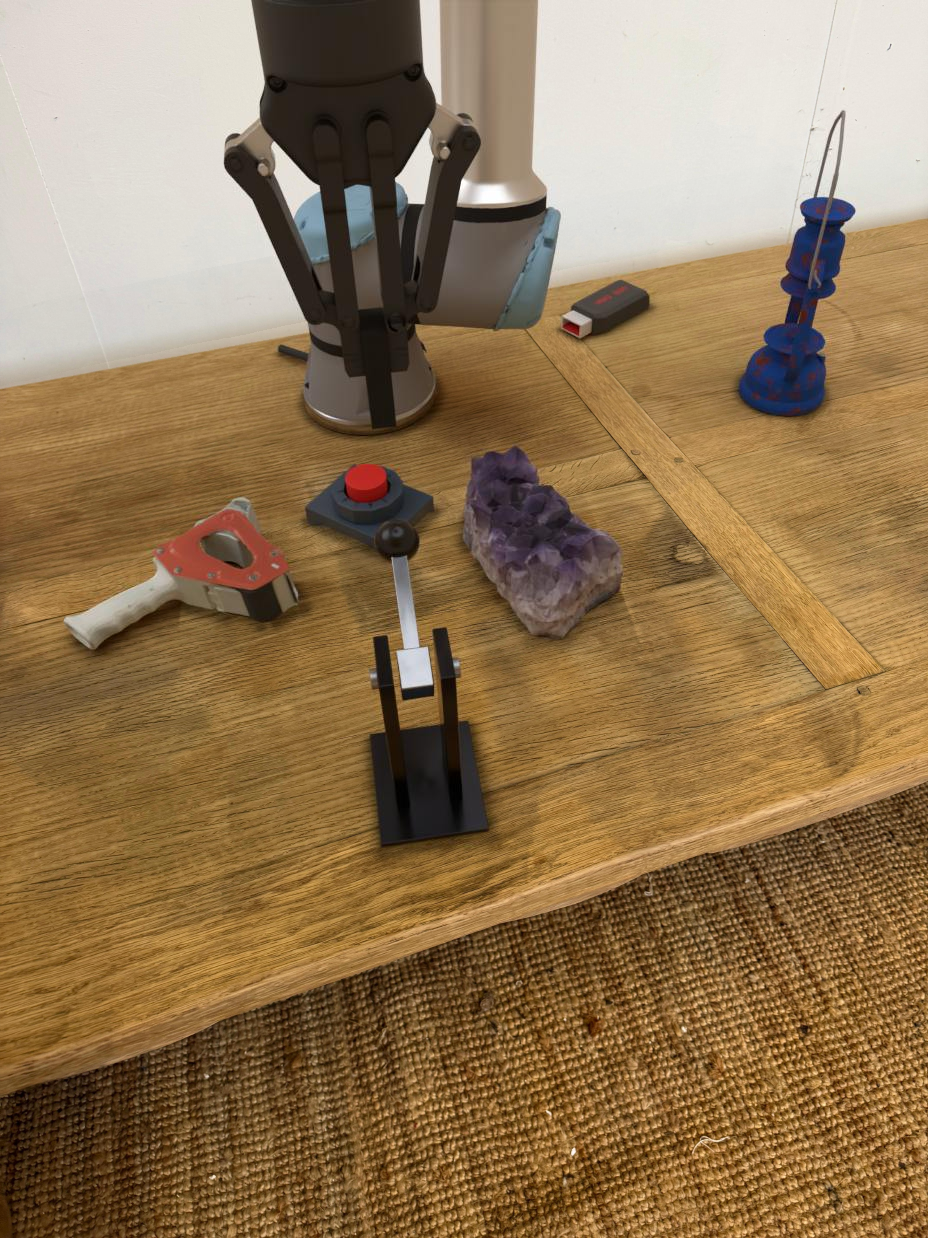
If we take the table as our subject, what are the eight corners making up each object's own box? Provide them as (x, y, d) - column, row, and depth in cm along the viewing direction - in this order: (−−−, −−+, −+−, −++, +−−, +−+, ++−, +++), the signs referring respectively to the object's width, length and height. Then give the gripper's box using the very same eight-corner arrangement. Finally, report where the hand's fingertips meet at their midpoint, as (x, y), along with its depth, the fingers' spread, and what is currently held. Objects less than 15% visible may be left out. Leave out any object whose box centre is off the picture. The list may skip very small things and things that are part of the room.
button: (338, 494, 92) (336, 480, 90) (363, 472, 94) (361, 458, 92) (371, 508, 90) (369, 494, 89) (396, 486, 92) (394, 471, 91)
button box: (307, 523, 94) (301, 492, 91) (356, 480, 99) (352, 449, 96) (387, 559, 90) (383, 528, 87) (434, 512, 95) (432, 481, 92)
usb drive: (649, 307, 121) (651, 287, 119) (585, 343, 116) (587, 322, 113) (618, 293, 124) (620, 273, 121) (555, 327, 118) (556, 307, 116)
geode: (417, 532, 93) (421, 444, 86) (515, 504, 98) (526, 419, 91) (530, 659, 80) (544, 568, 74) (635, 620, 85) (658, 531, 78)
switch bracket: (371, 742, 76) (347, 609, 64) (468, 728, 76) (462, 594, 65) (382, 852, 69) (358, 725, 58) (489, 836, 70) (486, 707, 58)
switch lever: (373, 535, 68) (370, 513, 65) (416, 529, 69) (415, 508, 66) (395, 703, 63) (393, 688, 60) (442, 697, 64) (442, 682, 61)
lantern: (825, 423, 103) (913, 134, 81) (738, 415, 104) (800, 130, 82) (820, 370, 110) (900, 91, 88) (738, 363, 111) (796, 87, 89)
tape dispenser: (69, 662, 85) (277, 679, 81) (43, 624, 81) (261, 640, 77) (143, 526, 96) (330, 535, 92) (124, 487, 92) (318, 495, 88)
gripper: (176, -1, 38) (278, 464, 55) (493, -25, 39) (495, 438, 56) (186, -46, 43) (276, 393, 60) (466, -67, 44) (476, 371, 61)
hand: (382, 414), depth 58 cm, fingers closed
